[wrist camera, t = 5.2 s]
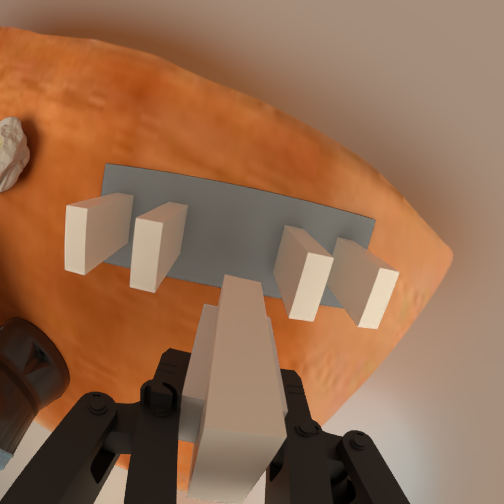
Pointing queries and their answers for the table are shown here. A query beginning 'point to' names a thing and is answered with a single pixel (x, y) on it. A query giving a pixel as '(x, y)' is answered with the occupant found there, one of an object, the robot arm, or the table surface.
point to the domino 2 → (156, 245)
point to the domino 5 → (361, 282)
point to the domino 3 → (237, 400)
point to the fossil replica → (12, 152)
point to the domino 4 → (301, 273)
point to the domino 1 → (96, 230)
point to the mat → (230, 226)
